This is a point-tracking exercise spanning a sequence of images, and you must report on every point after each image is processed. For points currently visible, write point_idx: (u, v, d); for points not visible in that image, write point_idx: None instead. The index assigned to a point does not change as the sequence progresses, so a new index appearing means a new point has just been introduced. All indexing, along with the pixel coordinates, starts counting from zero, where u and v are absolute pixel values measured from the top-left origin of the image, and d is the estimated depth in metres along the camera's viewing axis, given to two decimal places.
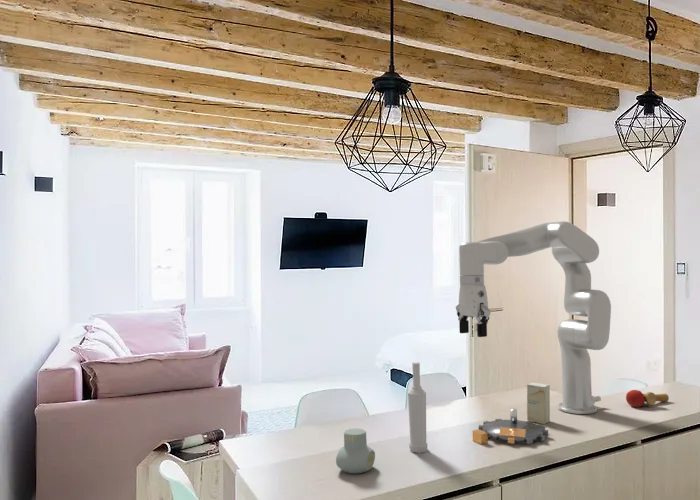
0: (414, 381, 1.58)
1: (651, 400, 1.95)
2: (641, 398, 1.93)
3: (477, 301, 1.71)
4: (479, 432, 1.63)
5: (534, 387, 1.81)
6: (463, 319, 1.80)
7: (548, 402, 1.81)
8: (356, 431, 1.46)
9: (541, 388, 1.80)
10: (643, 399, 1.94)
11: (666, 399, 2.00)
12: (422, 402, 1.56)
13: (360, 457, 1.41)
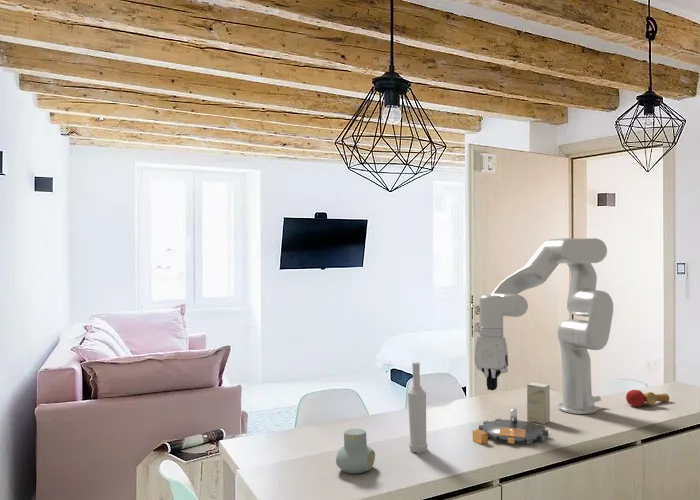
0: (414, 381, 1.58)
1: (651, 400, 1.96)
2: (641, 398, 1.94)
3: None
4: (479, 432, 1.63)
5: (534, 387, 1.81)
6: None
7: (548, 402, 1.81)
8: (356, 431, 1.46)
9: (541, 388, 1.80)
10: (643, 399, 1.94)
11: (667, 399, 2.00)
12: (422, 402, 1.56)
13: (360, 457, 1.41)
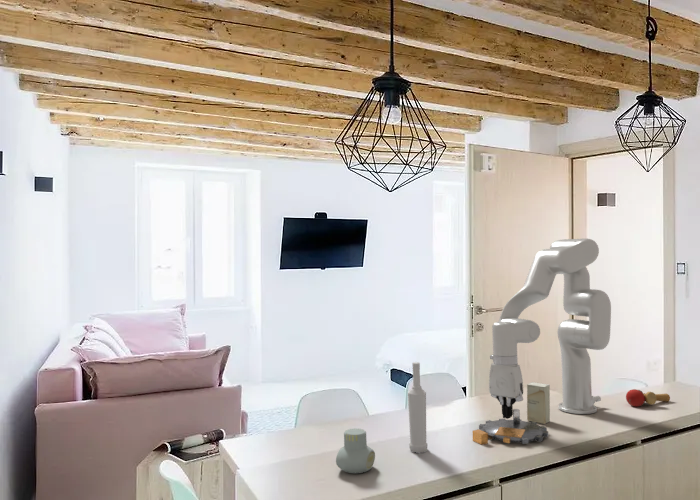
0: (414, 381, 1.58)
1: (651, 399, 1.96)
2: (641, 398, 1.94)
3: None
4: (479, 432, 1.63)
5: (534, 387, 1.81)
6: None
7: (548, 402, 1.81)
8: (356, 431, 1.46)
9: (541, 388, 1.80)
10: (643, 398, 1.94)
11: (667, 399, 2.00)
12: (422, 402, 1.56)
13: (360, 457, 1.41)
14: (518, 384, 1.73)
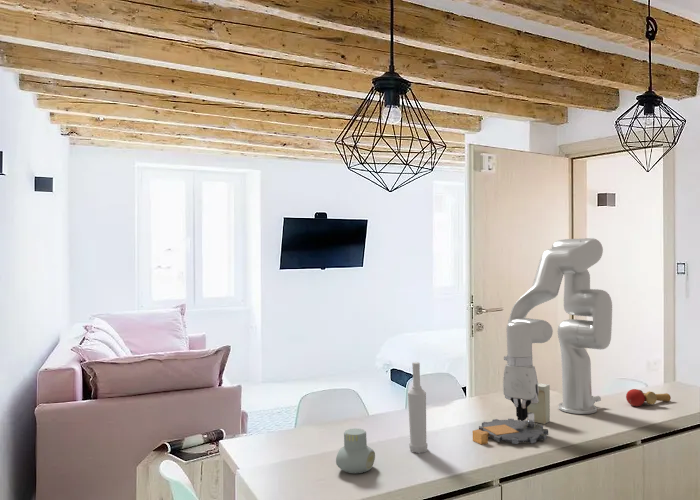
0: (414, 381, 1.58)
1: (651, 399, 1.96)
2: (641, 398, 1.94)
3: None
4: (479, 432, 1.63)
5: None
6: None
7: (548, 402, 1.81)
8: (356, 431, 1.46)
9: (541, 388, 1.80)
10: (643, 398, 1.95)
11: (668, 399, 2.00)
12: (422, 402, 1.56)
13: (360, 457, 1.41)
14: (534, 386, 1.69)
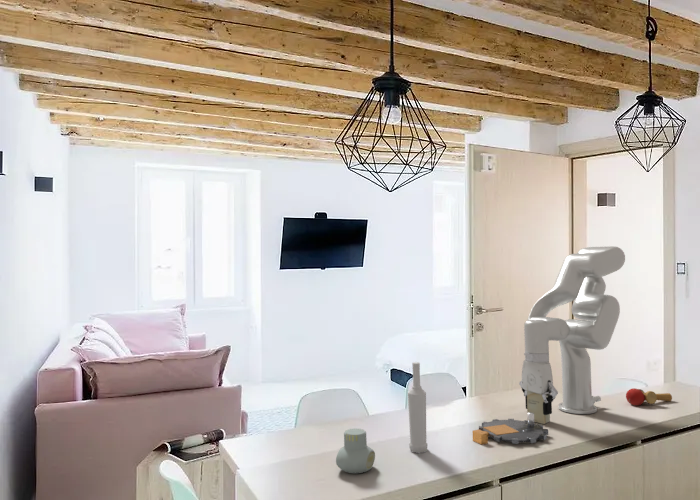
0: (414, 381, 1.58)
1: (651, 399, 1.97)
2: (640, 397, 1.95)
3: None
4: (479, 432, 1.63)
5: None
6: None
7: None
8: (356, 431, 1.46)
9: None
10: (642, 398, 1.96)
11: (669, 399, 2.01)
12: (422, 402, 1.56)
13: (360, 457, 1.41)
14: (545, 381, 1.77)
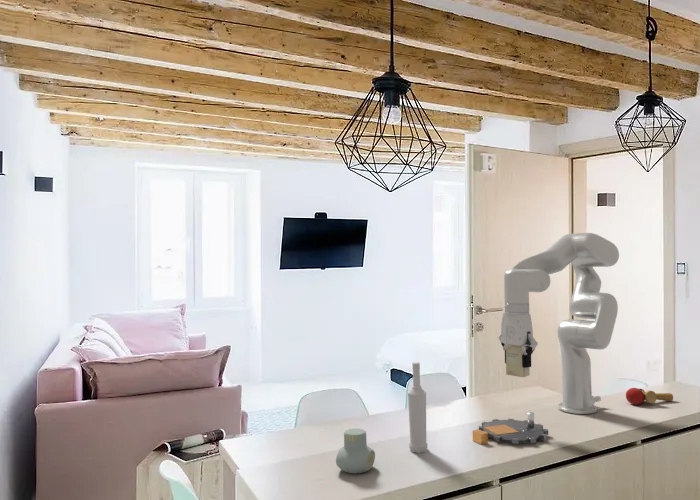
0: (414, 381, 1.58)
1: (651, 398, 1.97)
2: (640, 396, 1.96)
3: None
4: (479, 432, 1.63)
5: None
6: None
7: None
8: (356, 431, 1.46)
9: None
10: (642, 397, 1.96)
11: (670, 398, 2.01)
12: (422, 402, 1.56)
13: (360, 457, 1.41)
14: (524, 332, 1.70)
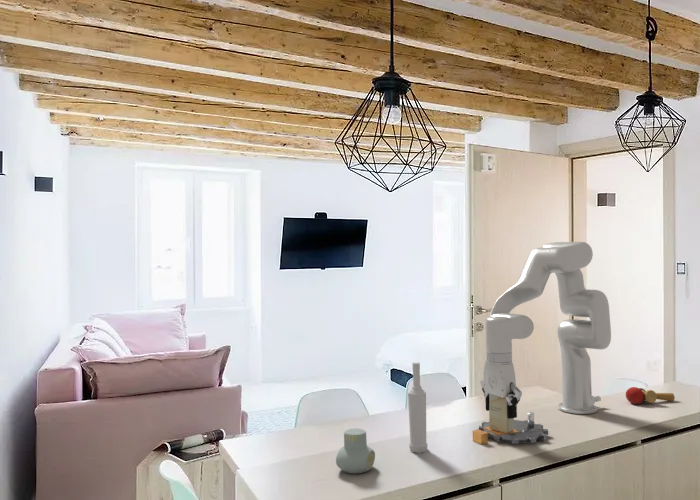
0: (414, 381, 1.58)
1: (651, 398, 1.98)
2: (639, 395, 1.97)
3: None
4: (479, 432, 1.63)
5: None
6: None
7: None
8: (356, 431, 1.46)
9: None
10: (641, 396, 1.97)
11: (671, 398, 2.01)
12: (422, 402, 1.56)
13: (360, 457, 1.41)
14: (507, 383, 1.63)
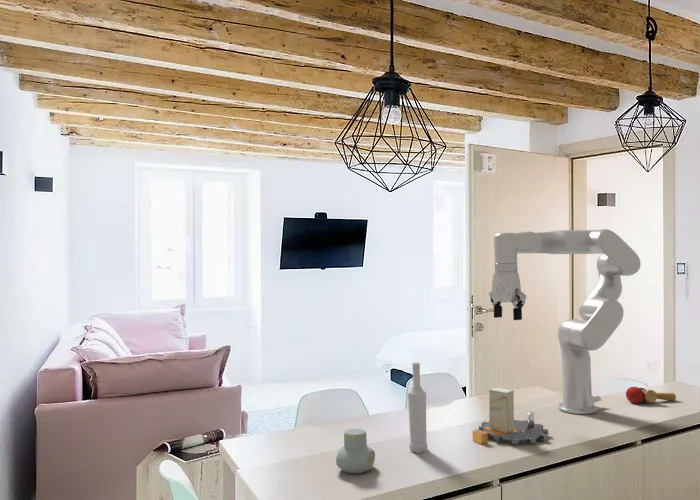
0: (414, 381, 1.58)
1: (651, 397, 1.99)
2: (639, 395, 1.98)
3: None
4: (479, 432, 1.63)
5: (497, 392, 1.66)
6: None
7: (512, 409, 1.66)
8: (356, 431, 1.46)
9: (504, 394, 1.65)
10: (641, 396, 1.98)
11: (673, 398, 2.01)
12: (422, 402, 1.56)
13: (360, 457, 1.41)
14: (513, 289, 1.84)
